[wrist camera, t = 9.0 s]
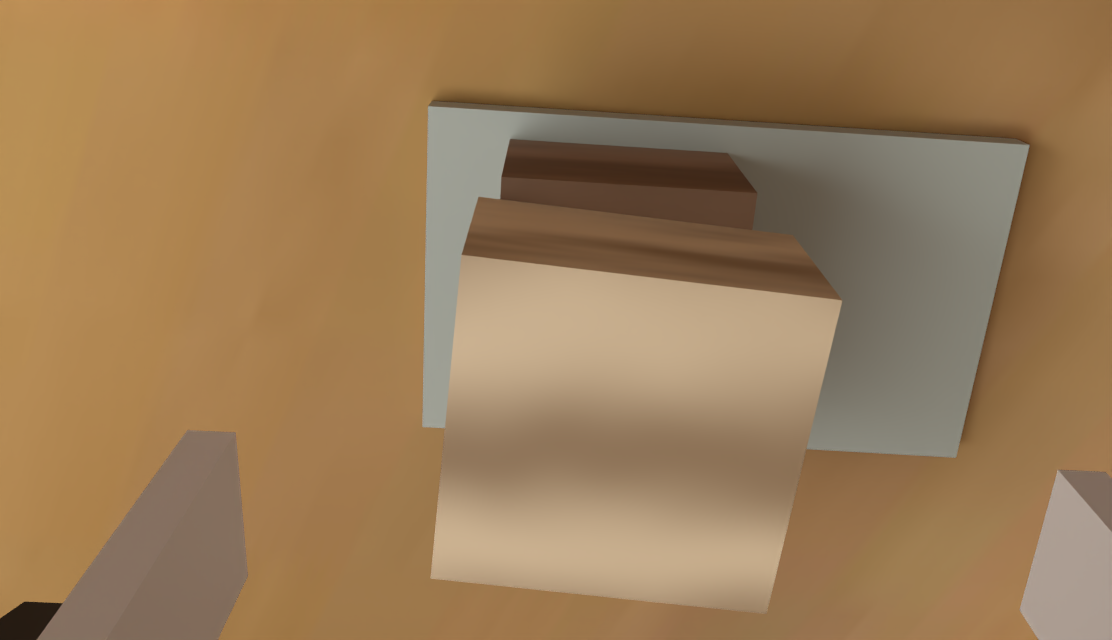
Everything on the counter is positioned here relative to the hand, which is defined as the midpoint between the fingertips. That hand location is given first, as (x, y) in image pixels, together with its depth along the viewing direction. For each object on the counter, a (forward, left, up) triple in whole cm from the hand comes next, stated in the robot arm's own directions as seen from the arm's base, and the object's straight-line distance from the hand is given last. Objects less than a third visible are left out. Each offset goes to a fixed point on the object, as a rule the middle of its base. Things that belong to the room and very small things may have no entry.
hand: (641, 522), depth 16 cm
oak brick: (+4, +1, -17) cm, 17 cm away
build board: (+4, +5, -24) cm, 25 cm away
